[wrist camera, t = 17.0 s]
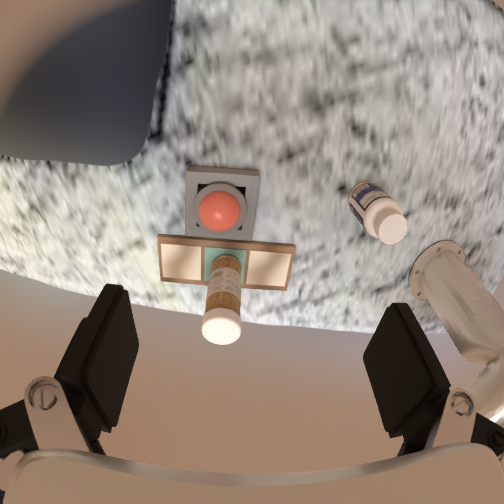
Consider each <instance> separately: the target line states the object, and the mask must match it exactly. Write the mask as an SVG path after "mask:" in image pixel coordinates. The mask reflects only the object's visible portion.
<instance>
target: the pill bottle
mask: <svg viewBox="0 0 504 504" xmlns="http://www.w3.org/2000/svg"><path fill="white" fill-rule="evenodd" d="M349 206H350V209H351V211H352V212H353V214H354V215H355V216H356V217H357V219H358V220H359V221H360V223H361V224H362V225H363V227H364V228H365V230H366V231H367V232H368V233H369V234H370V235H371V236H373V237H375V238H379V239H380V240H381V241H382V242H383V243H385V244H395V243H397V242H399V241H400V240H401V239H402V238H403V237H404V236H405V234H406V232H407V227H408V225H407V221H406V219H405V217H404V216H403V213H402V209H401V207H400V206H399V204H398V203H397V202H396V201H395V200H394V199H393V198H391V197H390V196H389V195H388V194H387V193H386V192H385V191H383V190H382V189H381V188H380V187H379V186H378V185H376V184H374V183H372V182H362V183H360V184H358V185H356V186H355V187H354V188H353V189H352V191H351V193H350V195H349Z"/></svg>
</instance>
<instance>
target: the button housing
mask: <svg viewBox="0 0 504 504" xmlns="http://www.w3.org/2000/svg"><path fill="white" fill-rule="evenodd" d="M259 178H260V176H259V171H256V170H244V169H232V168H219V167H203V166H189V168H188V169H187V171H186V196H185V236H195V237H209V238H222V239H234V240H247V241H252V237H253V229H254V220H255V212H256V203H257V195H258V186H259ZM213 183H227V184H230V185H232V186H241V187H245V200H246V203H247V216H246V219H245V221H244V223H243V224H242V225H241V226H240V227H239V228H238V229H237V230H235V231H234V232H231V233H229V234H223V235H218V234H213V233H210V232H207V231H205V230H204V229H203V228H201V227H200V226H199V225H198V223H197V222H196V220H195V218H194V215H193V203H194V200H195V197H196V196H197V194H198V193H199V191H200V184H213Z"/></svg>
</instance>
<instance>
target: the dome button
mask: <svg viewBox="0 0 504 504" xmlns="http://www.w3.org/2000/svg"><path fill="white" fill-rule="evenodd" d="M193 215H194V218H195V220H196V222H197V223H198V225H199V226H200V227H201V228H203V229H204V230H205V231H207V232H210V233H213V234H218V235H223V234H229V233H231V232H234V231H235V230H237V229H238V228H239V227H240V226H241V225H242V224H243V223H244V221H245V219H246V216H247V203H246V200H245V197H244V196H243V194H242V193H241V192H240V191H239V190H238V189H237V188H236V187H234V186H232V185H230V184H227V183H213V184H210V185H207V186H205V187H204V188H203V189H201V190H200V191H199V193H198V194H197V196H196V197H195V200H194V203H193Z"/></svg>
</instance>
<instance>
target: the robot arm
mask: <svg viewBox="0 0 504 504" xmlns="http://www.w3.org/2000/svg"><path fill="white" fill-rule="evenodd" d="M409 286H410V289H411V291H412V292H413V294H414V295H415V296H416V297H417V298H419V299H422V300H428V302H429V303H430V305H431V306H432V308H433V309H434V311H435V313H436V314H437V316H438V317H439V319H440V321H441V322H442V324H443V326H444V327H445V329H446V330H447V332H448V334H449V335H450V337H451V339H452V341H453V342H454V344H455V346H456V347H457V349H458V351H459V353H460V354H461V355H462V356H463V357H464V358H465V359H466V360H468V361H471V362H474V363H479V364H486V368H485V369H484V370H483V371H482V372H481V373H480V374H479V375H478V376H477V377H476V378H475V379H474V380H472V382H470V383H469V384H468V385H467V386H465V387H464V388H463V389H461V388H456V389H453V390H452V391H451V392H450V390H449V387H450V386H451V385H450V383H449V380H448V378H447V376H446V374H445V372H444V370H443V368H442V366H441V364H440V362H439V360H438V358H437V356H436V354H435V352H434V350H433V348H432V346H431V345H430V343H429V341H428V339H427V337H426V335H425V333H424V332H423V330H422V328H421V326H420V324H419V322H418V321H417V319H416V317H415V315H414V314H413V312H412V310H411V308H410V307H409V305H408V304H407V303H392V304H391V305H390V306H389V307H387V308H386V310H385V312H384V315H383V317H382V319H381V321H380V323H379V325H378V327H377V329H376V331H375V333H374V335H373V337H372V339H371V340H370V343H369V344H368V346H367V348H366V350H365V352H364V355H363V361H364V364H365V367H366V370H367V374H368V377H369V380H370V383H371V386H372V389H373V392H374V396H375V399H376V402H377V405H378V409H379V412H380V415H381V419H382V422H383V426H384V429H385V431H386V432H389V436H390V438H393V437H398V436H402V435H403V438H404V441H403V444H402V446H401V448H400V450H399V452H398V455H397V457H395V458H391V459H387V460H382V461H377V462H372V463H367V464H362V465H355V466H349V467H343V468H335V469H328V470H319V471H308V472H296V473H275V474H239V473H217V472H204V471H193V470H184V469H176V468H169V467H163V466H156V465H150V464H144V463H139V462H134V461H128V460H124V459H119V458H115V457H110V456H107V455H106V453H105V451H104V450H103V448H102V446H101V444H100V442H99V440H98V438H99V437H100V433H101V431H104V432H108V433H111V429H112V426H113V427H116V425H117V423H118V420H119V415H120V411H121V408H122V404H123V401H124V397H125V393H126V390H127V386H128V383H129V379H130V376H131V372H132V369H133V365H134V362H135V359H136V356H137V352H138V348H139V341H138V337H137V333H136V328H135V324H134V319H133V314H132V310H131V305H130V300H129V294H128V291H127V290H124V289H123V286H122V285H115V284H106V285H105V286H104V288H103V290H102V291H101V293H100V295H99V297H98V298H97V300H96V302H95V304H94V306H93V308H92V310H91V312H90V313H89V315H88V317H85V318H83V319H82V321H81V322H80V324H79V326H78V328H77V330H76V332H75V334H74V336H73V338H72V340H71V342H70V344H69V346H68V348H67V350H66V352H65V354H64V356H63V358H62V360H61V362H60V365H59V367H58V369H57V371H56V374H55V375H54V378H52V377H49V376H42V377H38V378H36V379H34V380H32V381H31V382H30V383H29V384H28V386H27V388H26V389H25V393H24V399H23V400H21V401H19V402H17V403H14V404H12V405H10V406H8V407H5V408H3V409H1V410H0V504H504V310H503V309H502V307H501V306H500V305H499V303H498V302H497V301H496V300H495V298H494V297H493V296H492V295H491V293H490V292H489V291H488V290H487V289H486V287H485V286H484V285H483V284H482V283H481V281H480V280H479V279H478V278H477V277H476V272H475V271H471V270H470V269H469V268H468V267H467V265H466V264H465V254H464V252H463V249H462V248H461V247H460V246H459V245H458V244H457V243H455V242H453V241H441V242H438V243H436V244H434V245H432V246H430V247H429V248H428V249H426V250H425V251H424V252H423V253H422V254H421V255H420V256H419V258H418V259H417V260H416V262H415V263H414V265H413V267H412V270H411V273H410V276H409Z"/></svg>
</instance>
